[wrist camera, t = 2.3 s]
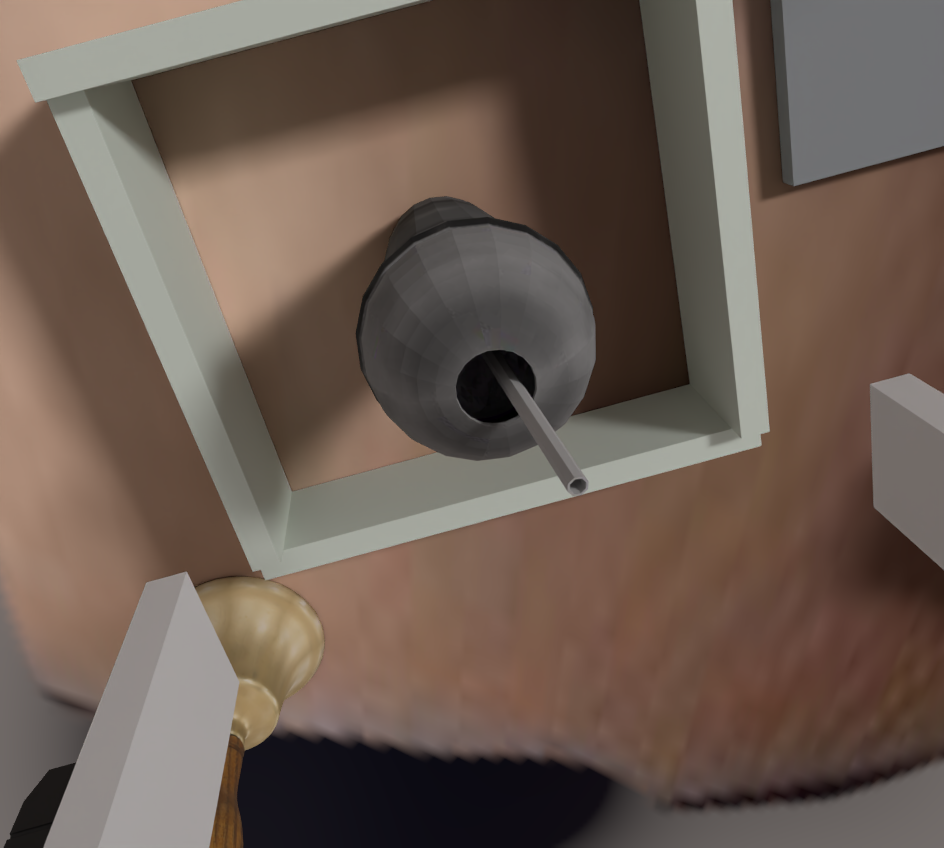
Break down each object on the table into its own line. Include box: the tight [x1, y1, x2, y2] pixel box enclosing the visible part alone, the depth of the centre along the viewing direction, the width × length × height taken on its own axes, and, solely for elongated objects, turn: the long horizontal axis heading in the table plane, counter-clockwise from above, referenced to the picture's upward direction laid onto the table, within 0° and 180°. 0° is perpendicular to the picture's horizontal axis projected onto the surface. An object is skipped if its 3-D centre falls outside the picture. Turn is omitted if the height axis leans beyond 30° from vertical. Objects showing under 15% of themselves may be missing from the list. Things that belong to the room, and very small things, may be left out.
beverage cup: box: [356, 196, 596, 496], centre depth 27 cm, size 7×7×20 cm
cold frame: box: [17, 0, 770, 580], centre depth 32 cm, size 21×22×7 cm
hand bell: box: [195, 577, 325, 848], centre depth 36 cm, size 8×8×16 cm
